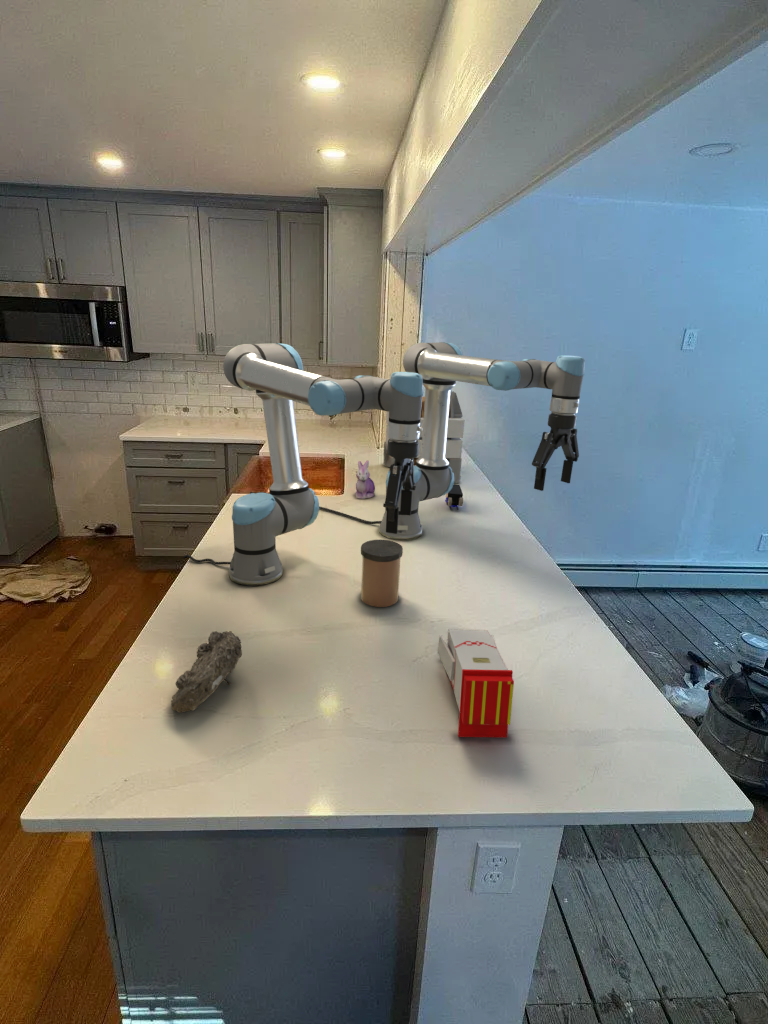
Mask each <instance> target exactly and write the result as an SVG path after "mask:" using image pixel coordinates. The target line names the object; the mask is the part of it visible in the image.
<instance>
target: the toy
mask: <svg viewBox="0 0 768 1024" xmlns="http://www.w3.org/2000/svg"><path fill="white" fill-rule="evenodd" d="M446 640H447V643H446V641H445V639H444V636H443V635H442V634H439V637H438V646H437V656H438V657H439V659H440V661H441V663H442V666H443V668H444V670H445V672H446V674H447V677H448V679H449V681H450V684H451V687H452V690H453V693H454V697H455V701H456V705H457V708H458V711H459V714H458V715H459V716H458V730H457V731H458V732H457V737H458V738H508V731H509V726H510V725H511V717H512V707H513V697H514V696H513V695H514V684H515V680H514V679H513V673H514V671H513V670H512V669H508V667H507V665H506V662H505V661H504V659H503V658H502V655H501V653H500V651H499V649H498V647H497V643H496V639H495V637H494V635H493V634H491V632H490V631H489V629H467V628H466V629H465V628H463V629H461V628H460V629H459V628H448V630H447V639H446Z"/></svg>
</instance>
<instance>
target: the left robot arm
mask: <svg viewBox="0 0 768 1024" xmlns="http://www.w3.org/2000/svg"><path fill="white" fill-rule="evenodd" d="M222 368H223V369H222V370H223V374H224V376H225V378H226V380H227V381H228V382H229V383H230V384H231V385H232V386H234V387H236V388H239V389H242V390H245V391H248V392H251V391H253V392H254V391H255V393H256V396H257V397H259V398H260V399H261V401H262V408H263V415H264V421H265V430H266V437H267V445H268V453H269V459H270V467H271V474H272V480H273V481H272V484H271V485H270V486H269V488H268V491H269V493H268V492H253V493H251V494H250V493H247V494H244V495H242V496H240V497H238V498H237V499H236V500H235V501H234V502H233V505H232V512H231V513H232V514H231V521H232V531H233V533H232V535H233V554H232V557H231V561H215V560H213V559H212V558H203V559H196V558H194V557H193V556H192V555H190V554H185V555H184V556H183V557H182V558H183V559H187V558H188V559H190V560H191V561H192V562H194V563H205V562H210V563H211V564H213V565H217V566H219V565H221V566H222V565H227V566H229V567H228V577H229V579H230V580H231V581H232V582H234V583H236V584H238V585H242V586H249V587H250V586H252V587H253V586H254V587H255V586H256V587H257V586H265V585H268V584H271V583H274V582H276V581H278V580H279V579H281V577H282V576H283V574H284V573H283V572H284V571H283V569H284V568H283V564H282V562H281V559H280V557H279V554H278V551H277V547H276V546H277V545H276V544H277V543H276V541H277V540H276V537H278V536H281V535H285V534H287V533H291V532H295V531H297V530H303V529H304V528H306V527H308V526H310V525H312V524H313V523H314V522H315V521H316V520H317V518H318V516H319V512H320V509H319V506H320V501H319V498H318V495H316V492H315V491H314V490H313V488H310V486H309V483H308V482H307V480H305V479H304V478H303V471H302V464H301V456H300V455H301V454H300V446H299V440H298V439H299V437H298V430H297V422H296V415H295V406H294V402H296V403H298V404H302V405H305V406H307V407H309V408H310V409H311V410H312V411H313V412H314V414H316V415H318V416H322V417H323V416H328V417H329V416H330V417H333V416H337V415H343V414H347V413H353V412H354V413H355V412H362V411H369V410H377V411H384V412H389V423H388V437H389V438H390V439H389V440H388V446H387V454H388V455H389V456H390V457H393V458H395V462H394V464H393V465H391V466H390V467H389V470H390V474H389V481H388V487H387V493H386V492H385V499H384V502H383V505H382V506H383V507H384V508H385V507H387V517H386V532H387V533H394V534H397V532H398V515H399V507H398V502H399V498H400V494H401V508H400V514H403V515H411V505H412V491H411V490H416V486H414V485H415V478H414V462H413V461H414V458H416V457H417V456H418V454H419V442H418V439H419V436H420V431H422V427H420V422H421V418H420V417H421V407H422V397H424V386H423V378H422V376H421V375H420V374H418V373H413V372H406V371H394V372H392V373H391V375H390V378H383V377H379V376H378V377H377V376H373V375H363V374H362V375H356V376H355V377H353V378H347V379H336V378H331V377H327V376H325V375H321V374H317V373H314V372H309V371H307V370H304V365H303V361H302V358H301V356H300V354H299V352H298V351H297V350H296V349H295V348H294V347H293V346H292V345H290V344H287V343H279V342H273V343H272V342H271V343H268V342H267V343H242V344H239V345H236V346H234V347H232V348H231V349H230V350H229V351H228V352H227V353H226V355H225V357H224V359H223V364H222ZM402 486H403V489H405V490H402V491H401V489H402ZM255 493H256V494H255ZM390 502H393V503H390Z"/></svg>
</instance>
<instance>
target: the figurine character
mask: <svg viewBox="0 0 768 1024" xmlns="http://www.w3.org/2000/svg"><path fill="white" fill-rule="evenodd" d="M463 496H464V493H463V490H462V488H461V485H460V484H457V483H454V484H453V487H452V489H451V490H450V491H449V492H448V493H447V494H445V499H444V502H445V503H446V505H447V506H448V507H449V510H450V511H452V510H453V509H452V508H456V510H457V511H459V510H460V508H459V507H463V505H464V498H463Z"/></svg>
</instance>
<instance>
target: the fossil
mask: <svg viewBox="0 0 768 1024" xmlns="http://www.w3.org/2000/svg"><path fill="white" fill-rule="evenodd" d="M242 647H243V646H242V642H241V638H240V637H239V636H237V635H235V633H234V632H233V631H231V630H229V631H223V632H221V631H220V632H219V631H217V630H213V631H211V632H210V635H209V636H208V642H204V643H200V644H199V645H198V646H197V648H196V659H195V661H194V662H193V665H192V666H191V669H190V670H185V671H184V672H183V674H181V675H179V676H178V677H177V678H176V681H175V687H176V688H177V689H178V690H177V691H176V692H175V693H174V694H173V695H172V697H171V701H170V702H171V709H172V711H176V712H178V713H185V712H189V711H195V710H196V709H197V708H198V707H199V706H200V705H202V703H204V702H205V701H206V700H207V699H208V698H209V697H210V696H211V695H212V694H213V693H214V692H215V691H217V689H218V688H219V686H220V684H221V683H223V681H224V682H225V683H226V684H227V685H228V686H230V685H231V684H232V683H231V682H230V680H229V679H227V678H226V677H227V676H228V674H230V673H232V672H233V671H234V669H235V668H236V665H237V663H238V661H239V659H241V658H242V655H243V650H242V649H243V648H242Z"/></svg>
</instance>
